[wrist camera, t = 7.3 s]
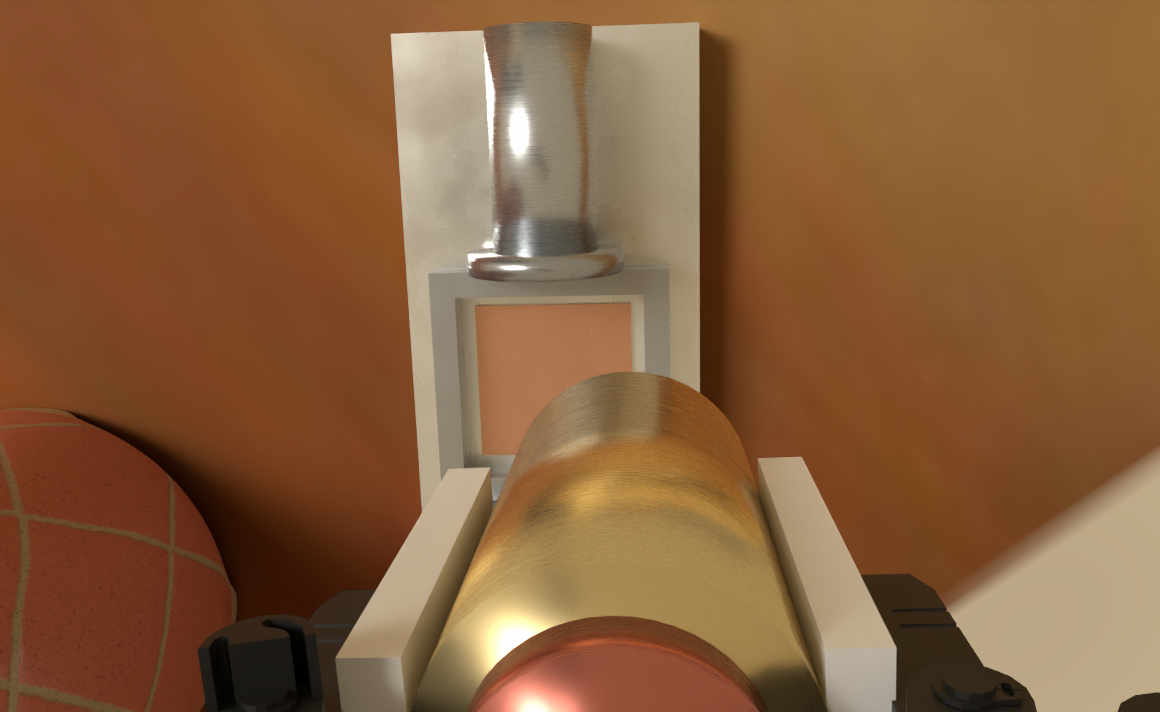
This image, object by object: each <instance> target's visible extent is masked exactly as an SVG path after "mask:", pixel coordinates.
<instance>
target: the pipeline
mask: <svg viewBox="0 0 1160 712" xmlns="http://www.w3.org/2000/svg"><path fill="white" fill-rule="evenodd" d="M391 44H392V59H393V75H394V90H395V105H396V120H397V136H398V151H399V166H400V181H401V197H402V212H403V227H404V242H405V258H406V273H407V288H408V304H409V319H410V334H411V349H412V365H413V380H414V395H415V410H416V426H417V441H418V456H419V471H420V487H421V502H422V512H423V511H424V509H425V507H426V506H427V504H428V502H429V501H430V499H431V497H432V496H433V494H434V492H435V491H436V489H437V487H438V486H439V484H440V482H441V481H442V479H443V477H444V476H445V474H446V472H447V471H448V469H458V468H487V467H490V471H491V483H492V495H493V508H494V506H495V504H496V501H497V499H498V497H499V494H500V492H501V489H502V487H503V485H504V482H505V480H506V477H507V475H508V473H509V470H510V468H511V465H512V463H513V461H514V458H515V456H516V453H517V451H518V449H519V446H520V444H521V442H522V439H523V437H524V435H525V433H526V431H527V429H528V428H529V426H530V424H531V423H532V421H533V420H534V418H535V417H536V416H537V415H538V414H539V412H540V411H541V410H542V409H543V408H544V407H545V406H546V405H547V404H548V403H549V402H550V401H551V400H552V399H553V398H555V397H556V396H557V395H559V394H560V393H562V392H563V391H564V390H566V389H568V388H570V387H572V386H573V385H575V384H577V383H579V382H581V381H584V380H587V379H589V378H592V377H595V376H599V375H604V374H608V373H616V372H645V373H652V374H657V375H661V376H664V377H668V378H671V379H674V380H676V381H679V382H681V383H683V384H686V385H688V386H689V387H691V388H693V389H694V390H696V391H698V392H699V393H700V174H699V22H698V23H672V24H645V25H618V26H590V25H587V24H581V23H570V22H524V23H511V24H502V25H495V26H490V27H487V28H484V29H483V31H457V32H430V33H404V34H391Z"/></svg>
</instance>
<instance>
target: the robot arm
mask: <svg viewBox="0 0 1160 712" xmlns="http://www.w3.org/2000/svg"><path fill="white" fill-rule="evenodd" d="M758 492H759V498H760V501H761V504H762V508H763V511H764V514H765V517H766V520H767V523H768V526H769V529H770V533H771V536H772V539H773V542H774V545H775V548H776V551H777V554H778V558H779V561H780V564H781V567H782V570H783V573H784V576H785V579H786V583H787V586H788V589H789V592H790V595H791V598H792V601H793V604H794V608H795V611H796V614H797V617H798V620H799V623H800V626H801V629H802V633H803V636H804V639H805V642H806V645H807V648H808V651H809V654H810V658H811V661H812V664H813V667H814V670H815V673H816V676H817V679H818V683H819V686H820V689H821V692H822V695H823V698H824V701H825V704H826V707H827V711H828V712H1037V711H1036V707H1035V702H1034V700H1033V698H1032V697H1031V695H1030V693H1029V692H1028V690H1027V688H1026V687H1024V686H1022V685H1021V684H1020V683H1019V682H1017V681H1016V680H1014V679H1013V678H1012V677H1010V676H1008V675H1005V674H1003V673H1000V672H998V671H995V670H993V669H990V668H987V667H984V666H983V664H982V663H981V661H980V659H979V658H978V656H977V655H976V653H975V652H974V650H973V649H972V647H971V646H970V644H969V643H968V641H967V639H966V638H965V636H964V635H963V633H962V632H961V630H960V629H959V627H956V623H955V621H954V619H953V618H952V616H951V615H950V613H949V612H947V611H946V607H945V605H944V604H943V602H942V601H941V599H940V598H939V596H938V595H937V593H936V591H935V590H934V589H933V588H931V587H929V586H928V585H926V584H925V583H923V582H921V581H920V580H918V579H917V578H915V577H913V576H912V575H910V574H883V575H860V573H859V571H858V569H857V567H856V565H855V563H854V561H853V559H852V557H851V555H850V553H849V551H848V549H847V547H846V545H845V543H844V541H843V539H842V537H841V535H840V533H839V531H838V529H837V527H836V525H835V523H834V521H833V519H832V517H831V515H830V513H829V511H828V509H827V507H826V505H825V503H824V501H823V499H822V497H821V495H820V493H819V491H818V489H817V487H816V485H815V483H814V481H813V479H812V477H811V475H810V473H809V471H808V469H807V467H806V465H805V463H804V461H803V459H802V457H783V458H758ZM493 509H494V508H493V495H492V483H491V471H490V467H487V468H458V469H448V471H447V472H446V474H445V476H444V477H443V479H442V481H441V482H440V484H439V486H438V487H437V489H436V491H435V492H434V494H433V496H432V497H431V499H430V501H429V502H428V504H427V506H426V507H425V509H424V511H423V512H422V514H421V516H420V517H419V519H418V521H417V522H416V524H415V526H414V527H413V529H412V531H411V532H410V534H409V536H408V537H407V539H406V541H405V542H404V544H403V546H402V547H401V549H400V551H399V553H398V554H397V556H396V558H395V559H394V561H393V563H392V564H391V566H390V568H389V569H388V571H387V573H386V574H385V576H384V578H383V579H382V581H381V583H380V584H379V586H378V588H377V589H376V590H342V591H341V592H339V593H338V594H336V595H335V596H333V597H332V598H330V599H329V600H327V601H326V602H324V603H323V604H321V605H320V606H318V608H317V609H316V610H315V612H314V613H313V615H312V616H311V617H310V619H309V620H306V619H305V618H303V617H298V616H293V615H287V614H280V615H263V616H259V617H254V618H249V619H245V620H241V621H239V622H236V623H233V624H231V625H228V626H226V627H223V628H221V629H220V630H218V631H217V632H215V633H213V634H212V635H210V636H209V637H207V638H206V639H205V640H204V642H203V643H202V644H201V645H200V647H199V648H198V649H197V650H198V657H199V663H200V670H201V676H202V683H203V689H204V696H205V702H206V709H207V712H412V709H413V705H414V701H415V697H416V693H417V691H418V688H419V686H420V683H421V681H422V679H423V676H424V674H425V671H426V669H427V667H428V664H429V662H430V659H431V657H432V655H433V652H434V650H435V647H436V645H437V643H438V640H439V638H440V635H441V633H442V631H443V628H444V626H445V623H446V621H447V619H448V616H449V614H450V611H451V609H452V607H453V604H454V602H455V600H456V597H457V595H458V592H459V590H460V588H461V585H462V583H463V580H464V578H465V576H466V573H467V571H468V568H469V566H470V564H471V561H472V559H473V556H474V554H475V552H476V549H477V547H478V544H479V542H480V540H481V537H482V535H483V532H484V530H485V528H486V525H487V523H488V520H489V518H490V516H491V513H492V511H493ZM1118 712H1160V693H1149V694H1142V695H1135V696H1133V697H1131V698H1129V699H1128V700H1126V701H1124V702H1122V703H1121V704H1120V707H1119V710H1118Z"/></svg>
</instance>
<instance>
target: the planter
mask: <svg viewBox="0 0 1160 712" xmlns="http://www.w3.org/2000/svg"><path fill="white" fill-rule="evenodd" d="M236 616H237V595H236V592H235V590H234V588H233V587H232V586H231V584H230V582H229V579H228V577H227V574H226V571H225V568H224V565H223V562H222V559H221V556H220V554H219V551H218V548H217V546H216V544H215V541H214V539H213V537H212V535H211V533H210V531H209V529H208V527H207V525H206V523H205V521H204V520H203V518H202V516H201V515H200V513H199V512H198V510H197V509H196V507H195V506H194V504H193V503H192V502H191V500H190V499H189V498H188V496H187V495H186V494H185V492H184V491H183V490H182V489H181V488H180V487H179V485H178V484H177V483H176V482H175V481H174V480H173V479H172V478H171V477H170V476H169V475H168V474H167V473H166V472H165V471H164V470H163V469H162V468H161V467H159V466H158V465H157V464H156V463H155V462H154V461H152V460H151V459H150V458H149V457H147V456H146V455H145V454H143V453H142V452H141V451H139V450H138V449H136V448H135V447H133V446H132V445H130V444H128V443H127V442H125V441H123V440H122V439H120V438H118V437H116V436H114V435H112V434H110V433H108V432H106V431H104V430H102V429H100V428H98V427H96V426H94V425H91V424H89V423H87V422H85V421H82V420H80V419H78V418H76V417H75V416H73V415H72V414H71V413H69V412H67V411H64V410H60V409H52V408H14V409H6V410H0V712H200V710H201V709H202V707H203V705H204V704H205V696H204V689H203V683H202V676H201V670H200V663H199V657H198V650H197V649H198V648H199V647H200V645H201V644H202V643H203V642H204V640H205V639H206V638H207V637H209V636H210V635H212V634H213V633H215V632H217V631H218V630H220V629H221V628H223V627H226V626H228V625H231V624H233V623H236Z"/></svg>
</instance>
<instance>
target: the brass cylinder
mask: <svg viewBox="0 0 1160 712" xmlns="http://www.w3.org/2000/svg"><path fill="white" fill-rule="evenodd" d="M412 712H828V711H827V707H826V704H825V701H824V698H823V695H822V692H821V689H820V686H819V683H818V679H817V676H816V673H815V670H814V667H813V664H812V661H811V658H810V654H809V651H808V648H807V645H806V642H805V639H804V636H803V633H802V629H801V626H800V623H799V620H798V617H797V614H796V611H795V608H794V604H793V601H792V598H791V595H790V592H789V589H788V586H787V583H786V579H785V576H784V573H783V570H782V567H781V564H780V561H779V558H778V554H777V551H776V548H775V545H774V542H773V539H772V536H771V533H770V529H769V526H768V523H767V520H766V517H765V514H764V511H763V508H762V504H761V501H760V498H759V495H758V492H757V489H756V485H755V482H754V479H753V476H752V473H751V470H750V467H749V464H748V460H747V457H746V454H745V451H744V449H743V446H742V444H741V441H740V439H739V437H738V435H737V433H736V431H735V430H734V428H733V426H732V425H731V423H730V422H729V421H728V419H727V418H726V417H725V415H724V414H723V413H722V412H721V411H720V410H719V409H718V408H717V407H716V406H715V405H714V404H713V403H712V402H711V401H710V400H708V399H707V398H706V397H705V396H703V395H702V394H701V393H699V392H698V391H696V390H694V389H693V388H691V387H689V386H688V385H686V384H683V383H681V382H679V381H676V380H674V379H671V378H668V377H664V376H661V375H657V374H652V373H645V372H616V373H608V374H604V375H599V376H595V377H592V378H589V379H587V380H584V381H581V382H579V383H577V384H575V385H573V386H572V387H570V388H568V389H566V390H564V391H563V392H562V393H560V394H559V395H557V396H556V397H555V398H553V399H552V400H551V401H550V402H549V403H548V404H547V405H546V406H545V407H544V408H543V409H542V410H541V411H540V412H539V414H538V415H537V416H536V417H535V418H534V420H533V421H532V423H531V424H530V426H529V428H528V429H527V431H526V433H525V435H524V437H523V439H522V442H521V444H520V446H519V449H518V451H517V453H516V456H515V458H514V461H513V463H512V465H511V468H510V470H509V473H508V475H507V477H506V480H505V482H504V485H503V487H502V489H501V492H500V494H499V497H498V499H497V501H496V504H495V506H494V509H493V511H492V513H491V516H490V518H489V520H488V523H487V525H486V528H485V530H484V532H483V535H482V537H481V540H480V542H479V544H478V547H477V549H476V552H475V554H474V556H473V559H472V561H471V564H470V566H469V568H468V571H467V573H466V576H465V578H464V580H463V583H462V585H461V588H460V590H459V592H458V595H457V597H456V600H455V602H454V604H453V607H452V609H451V611H450V614H449V616H448V619H447V621H446V623H445V626H444V628H443V631H442V633H441V635H440V638H439V640H438V643H437V645H436V647H435V650H434V652H433V655H432V657H431V659H430V662H429V664H428V667H427V669H426V671H425V674H424V676H423V679H422V681H421V683H420V686H419V688H418V691H417V693H416V697H415V701H414V705H413V709H412Z"/></svg>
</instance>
